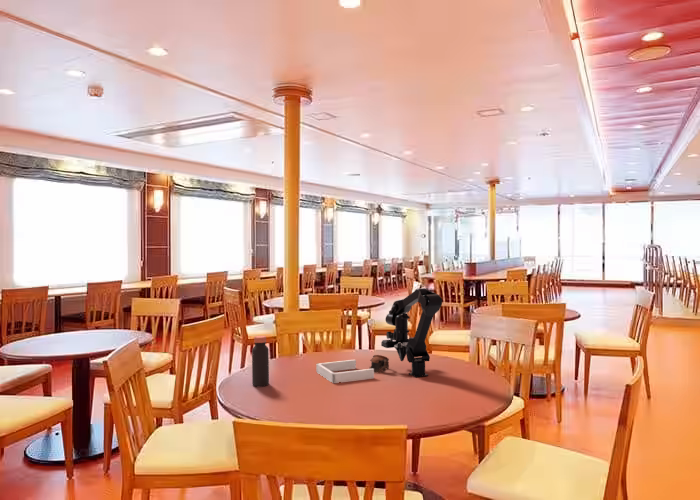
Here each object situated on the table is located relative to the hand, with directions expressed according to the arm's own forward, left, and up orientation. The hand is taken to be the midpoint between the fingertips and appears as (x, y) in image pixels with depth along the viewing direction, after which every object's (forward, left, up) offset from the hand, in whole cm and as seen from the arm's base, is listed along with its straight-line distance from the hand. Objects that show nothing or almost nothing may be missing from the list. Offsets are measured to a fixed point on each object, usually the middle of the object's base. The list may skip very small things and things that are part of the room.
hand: (401, 360), depth 233 cm
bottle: (+1, +67, -4) cm, 67 cm away
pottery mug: (0, +11, -4) cm, 12 cm away
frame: (0, +29, -4) cm, 29 cm away
